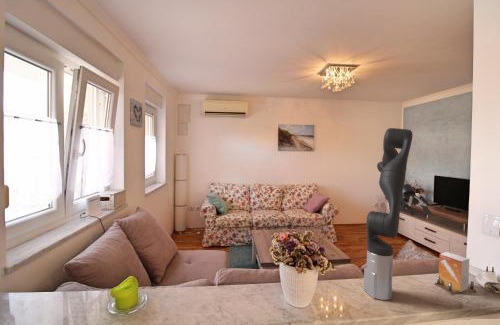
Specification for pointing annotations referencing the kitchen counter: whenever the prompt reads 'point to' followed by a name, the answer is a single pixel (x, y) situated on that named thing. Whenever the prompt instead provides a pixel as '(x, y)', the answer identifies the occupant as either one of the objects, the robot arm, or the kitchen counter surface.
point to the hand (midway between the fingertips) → (421, 214)
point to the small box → (454, 271)
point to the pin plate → (453, 291)
